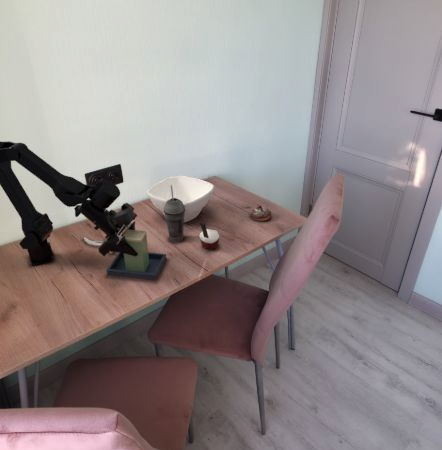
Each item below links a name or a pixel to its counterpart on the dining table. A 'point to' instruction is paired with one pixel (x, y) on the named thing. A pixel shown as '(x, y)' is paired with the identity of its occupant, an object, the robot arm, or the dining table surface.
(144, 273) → the tray
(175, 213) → the beverage cup
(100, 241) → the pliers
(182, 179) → the bowl
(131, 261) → the tea tin
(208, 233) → the cocoa
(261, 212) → the pastry
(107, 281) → the dining table surface
